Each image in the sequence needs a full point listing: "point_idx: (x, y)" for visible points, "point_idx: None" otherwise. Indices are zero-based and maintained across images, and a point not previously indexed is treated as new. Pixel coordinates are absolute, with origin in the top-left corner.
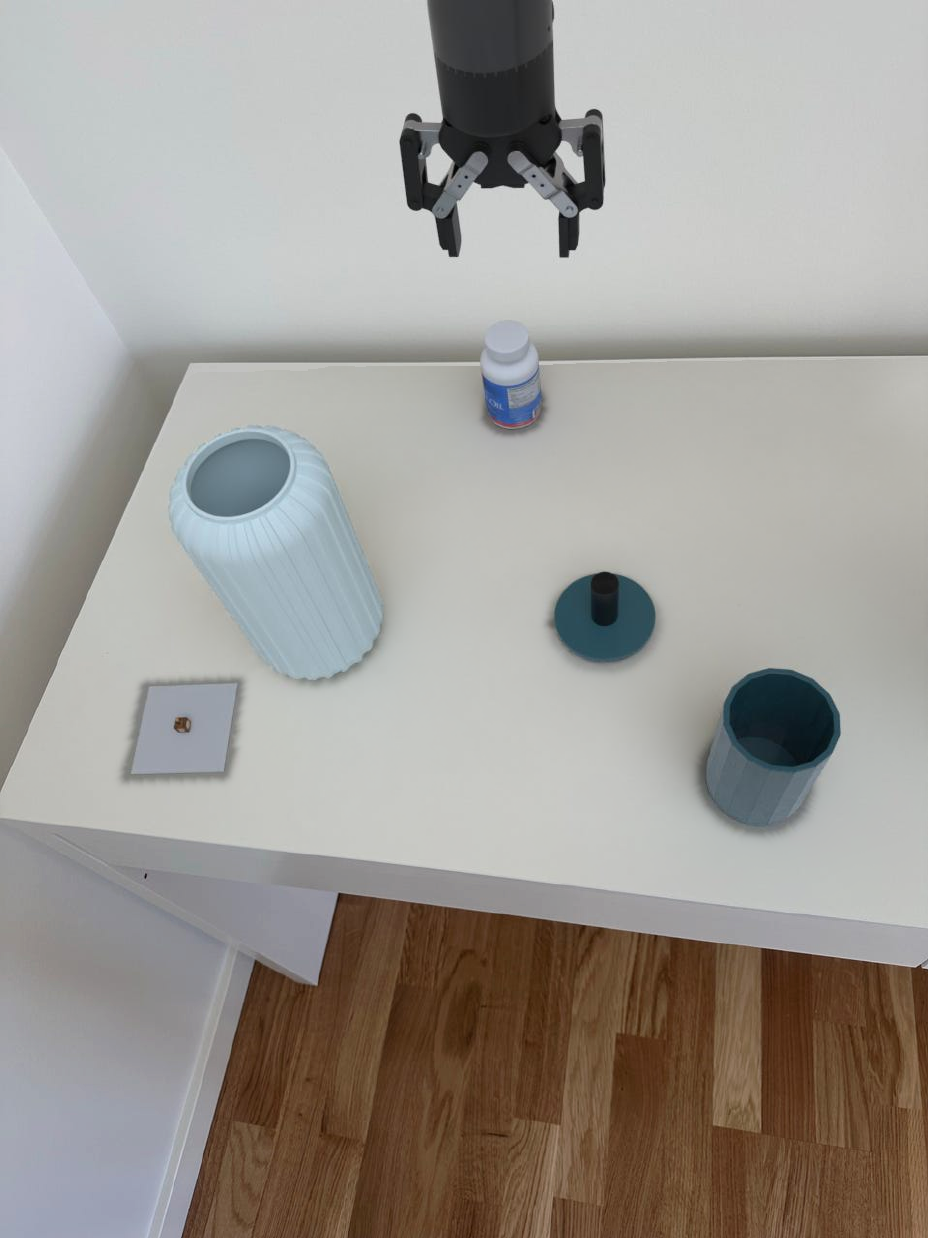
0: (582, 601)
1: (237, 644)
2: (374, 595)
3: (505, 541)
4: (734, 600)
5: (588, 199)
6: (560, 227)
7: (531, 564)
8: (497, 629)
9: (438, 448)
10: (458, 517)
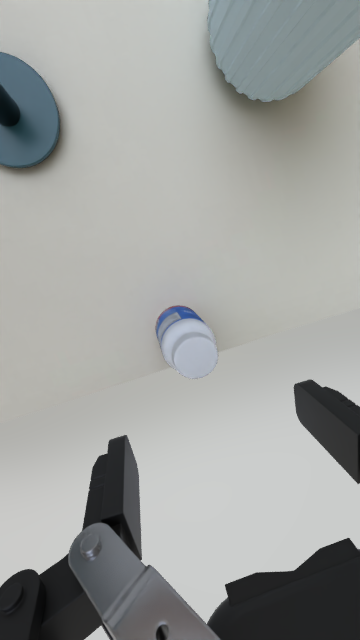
0: (34, 123)
1: None
2: (224, 8)
3: (136, 189)
4: None
5: (28, 605)
6: (118, 490)
7: (104, 169)
8: (106, 84)
9: (223, 271)
10: (184, 205)
